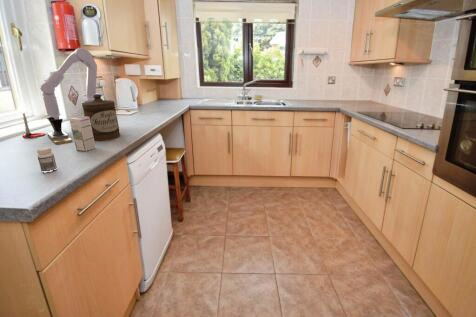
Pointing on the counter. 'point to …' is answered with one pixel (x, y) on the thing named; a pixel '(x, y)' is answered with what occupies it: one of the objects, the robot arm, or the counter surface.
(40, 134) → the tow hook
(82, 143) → the syrup box
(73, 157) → the counter surface
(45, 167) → the pill bottle
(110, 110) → the brown labelled jar
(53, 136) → the slotted panel plate
